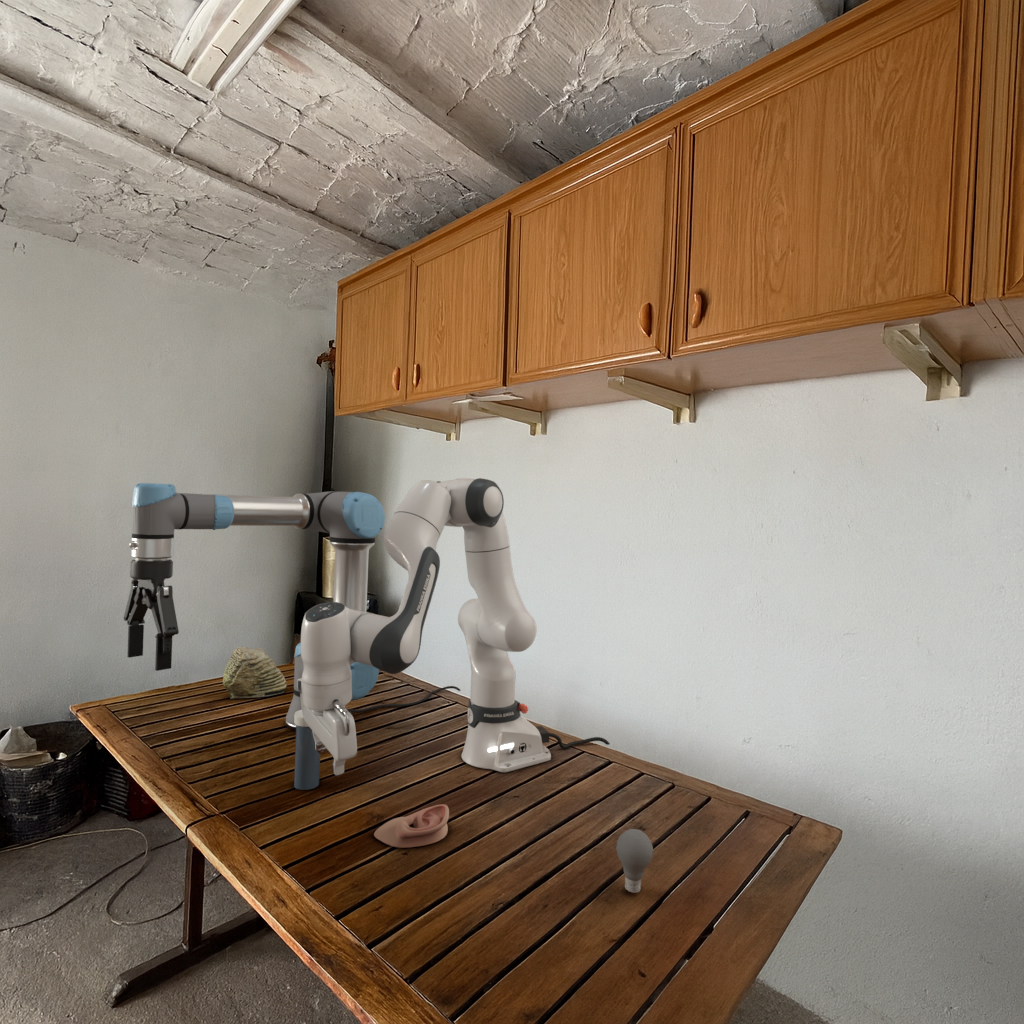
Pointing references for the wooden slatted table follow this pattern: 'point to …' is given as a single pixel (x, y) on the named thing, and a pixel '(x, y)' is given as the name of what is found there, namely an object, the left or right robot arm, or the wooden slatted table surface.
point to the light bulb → (634, 857)
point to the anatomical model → (416, 828)
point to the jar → (306, 760)
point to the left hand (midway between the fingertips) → (148, 662)
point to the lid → (299, 719)
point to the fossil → (252, 674)
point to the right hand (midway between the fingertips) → (329, 761)
